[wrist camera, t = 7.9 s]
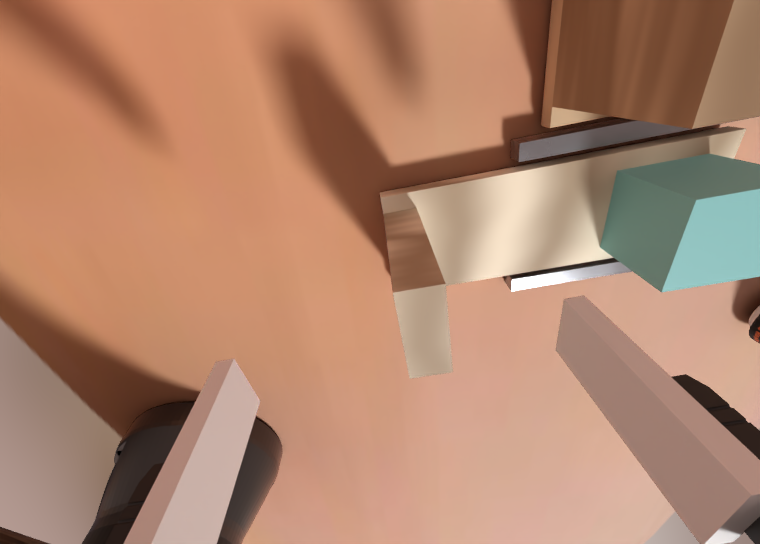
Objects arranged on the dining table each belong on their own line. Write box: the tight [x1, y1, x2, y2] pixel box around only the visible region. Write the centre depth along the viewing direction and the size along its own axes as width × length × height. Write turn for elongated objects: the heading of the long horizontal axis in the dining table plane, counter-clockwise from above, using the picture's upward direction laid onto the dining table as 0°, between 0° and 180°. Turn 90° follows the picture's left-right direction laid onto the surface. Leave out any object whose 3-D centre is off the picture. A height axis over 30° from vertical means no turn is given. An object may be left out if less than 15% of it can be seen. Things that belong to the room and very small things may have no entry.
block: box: [600, 154, 760, 292], centre depth 17 cm, size 5×5×5 cm
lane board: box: [505, 116, 759, 291], centre depth 16 cm, size 24×19×3 cm
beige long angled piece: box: [380, 126, 746, 379], centre depth 16 cm, size 20×7×9 cm, turn 100°
